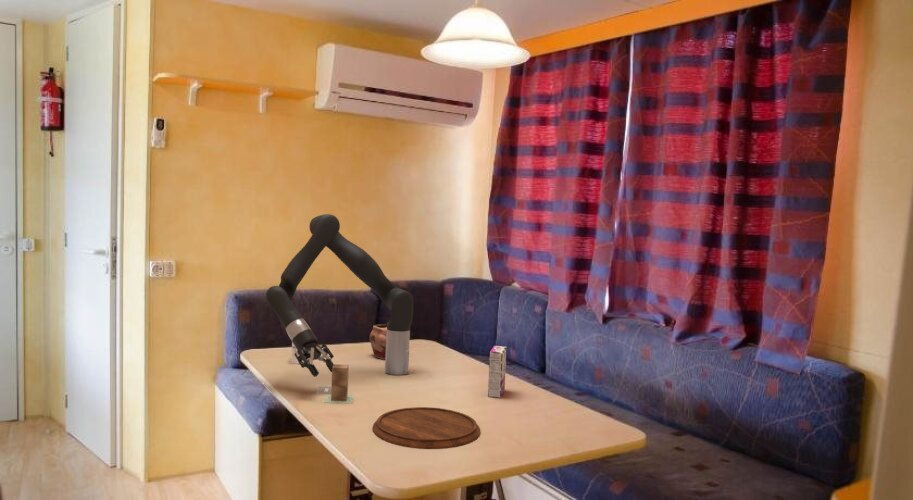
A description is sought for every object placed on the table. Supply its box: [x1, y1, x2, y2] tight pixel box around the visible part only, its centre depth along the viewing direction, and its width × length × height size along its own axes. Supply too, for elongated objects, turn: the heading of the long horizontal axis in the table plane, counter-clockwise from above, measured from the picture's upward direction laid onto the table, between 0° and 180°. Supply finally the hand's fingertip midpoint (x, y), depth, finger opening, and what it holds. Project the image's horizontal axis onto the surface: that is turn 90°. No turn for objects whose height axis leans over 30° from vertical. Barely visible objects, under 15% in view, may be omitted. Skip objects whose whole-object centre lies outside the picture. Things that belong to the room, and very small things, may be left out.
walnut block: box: [330, 363, 350, 401], centre depth 218 cm, size 5×5×11 cm
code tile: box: [316, 385, 331, 395], centre depth 228 cm, size 9×9×1 cm
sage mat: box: [324, 394, 355, 404], centre depth 218 cm, size 9×9×1 cm
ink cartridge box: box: [291, 341, 304, 365], centre depth 269 cm, size 9×5×15 cm, turn 179°
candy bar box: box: [487, 345, 507, 399], centre depth 235 cm, size 11×5×16 cm, turn 168°
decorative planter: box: [369, 324, 387, 360], centre depth 286 cm, size 20×12×14 cm, turn 36°
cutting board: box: [372, 406, 481, 450], centre depth 193 cm, size 32×32×2 cm
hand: (325, 372), depth 220 cm, fingers open, 8 cm apart
